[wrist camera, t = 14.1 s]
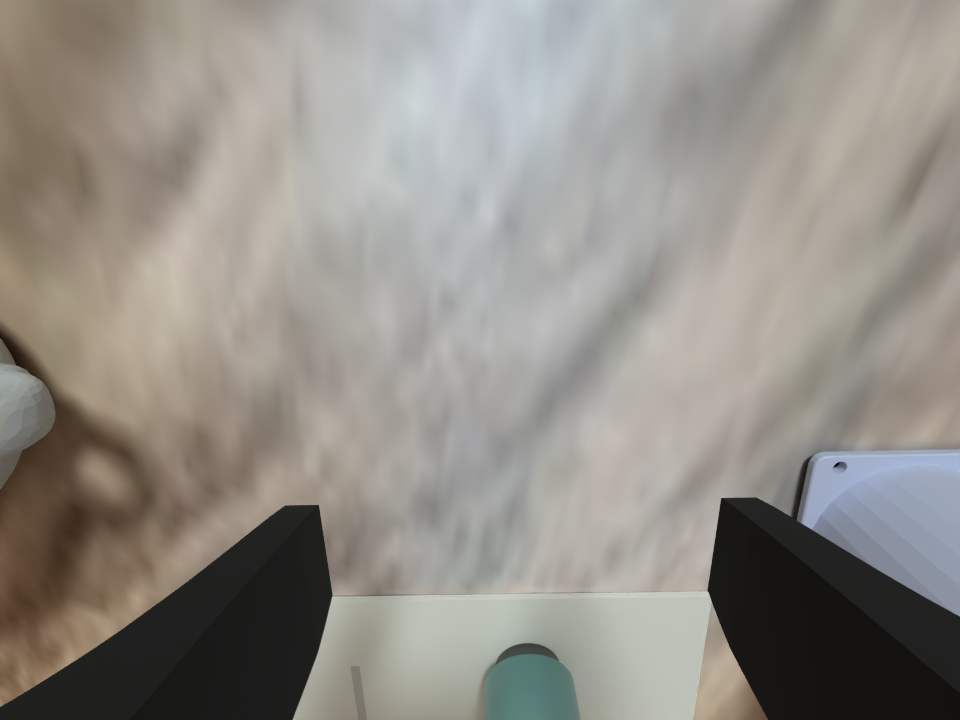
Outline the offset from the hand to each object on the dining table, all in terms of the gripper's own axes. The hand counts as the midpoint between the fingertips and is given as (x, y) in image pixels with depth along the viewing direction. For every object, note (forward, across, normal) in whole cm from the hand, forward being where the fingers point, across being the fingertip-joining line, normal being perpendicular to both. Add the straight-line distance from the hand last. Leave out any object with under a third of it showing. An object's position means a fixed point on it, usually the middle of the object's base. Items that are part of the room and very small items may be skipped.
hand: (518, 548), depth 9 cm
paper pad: (+10, +1, +18) cm, 21 cm away
